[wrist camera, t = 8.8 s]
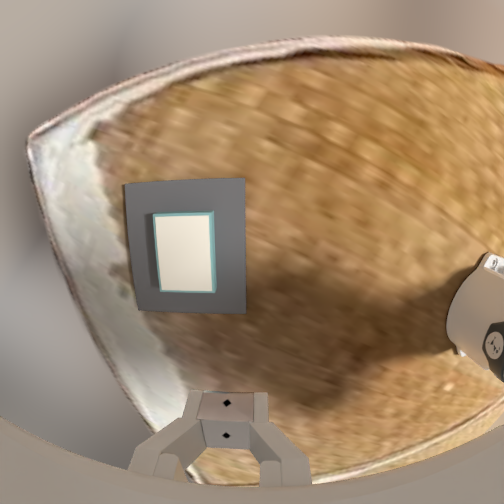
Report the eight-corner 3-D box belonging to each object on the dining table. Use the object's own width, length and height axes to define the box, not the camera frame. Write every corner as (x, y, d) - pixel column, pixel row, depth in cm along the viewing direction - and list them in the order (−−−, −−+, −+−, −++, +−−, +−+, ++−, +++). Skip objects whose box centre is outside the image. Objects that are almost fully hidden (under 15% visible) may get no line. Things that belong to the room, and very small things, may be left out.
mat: (245, 177, 30) (244, 178, 30) (246, 311, 35) (246, 313, 34) (126, 183, 30) (124, 184, 30) (139, 308, 35) (138, 310, 34)
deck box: (211, 212, 29) (152, 214, 29) (214, 293, 31) (159, 292, 31) (213, 210, 31) (157, 212, 31) (216, 287, 33) (164, 286, 33)
